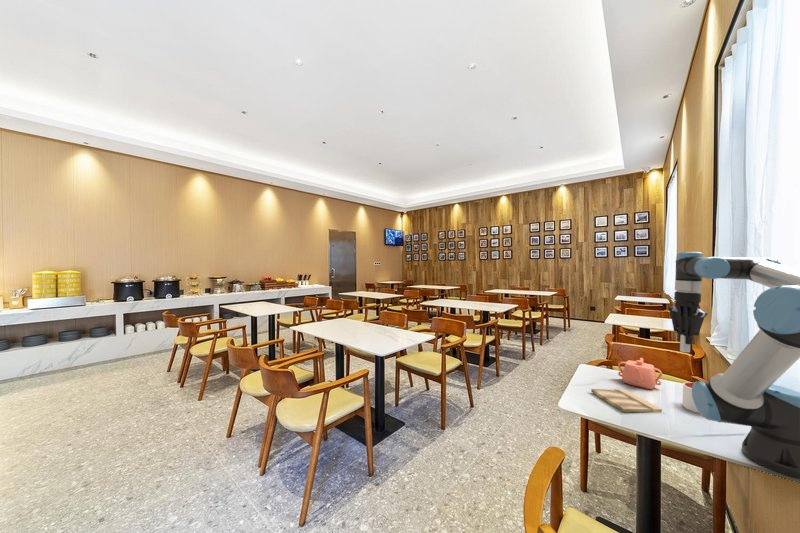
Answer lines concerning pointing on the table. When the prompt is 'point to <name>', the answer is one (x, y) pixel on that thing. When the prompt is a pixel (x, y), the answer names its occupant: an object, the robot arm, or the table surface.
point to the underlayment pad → (654, 408)
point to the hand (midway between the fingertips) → (684, 351)
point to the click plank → (621, 400)
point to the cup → (688, 397)
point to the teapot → (639, 374)
